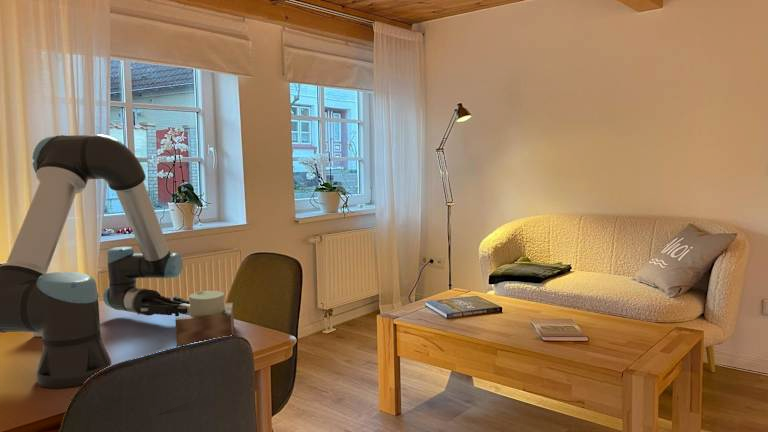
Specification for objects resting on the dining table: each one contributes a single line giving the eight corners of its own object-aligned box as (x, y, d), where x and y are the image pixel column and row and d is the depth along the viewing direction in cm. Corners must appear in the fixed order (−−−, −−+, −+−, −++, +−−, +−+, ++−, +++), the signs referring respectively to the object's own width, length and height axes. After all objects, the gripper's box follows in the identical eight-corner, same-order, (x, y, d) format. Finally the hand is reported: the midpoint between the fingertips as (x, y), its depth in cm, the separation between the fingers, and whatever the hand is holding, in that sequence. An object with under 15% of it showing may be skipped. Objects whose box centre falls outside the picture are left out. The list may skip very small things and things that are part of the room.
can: (210, 328, 169) (209, 287, 168) (232, 334, 164) (231, 291, 162) (183, 336, 162) (181, 293, 160) (205, 343, 157) (203, 299, 155)
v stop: (173, 345, 156) (171, 319, 155) (230, 325, 172) (229, 302, 172) (202, 351, 150) (200, 324, 149) (258, 331, 166) (257, 306, 165)
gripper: (162, 308, 183) (216, 318, 171) (125, 319, 172) (179, 330, 160) (161, 284, 182) (214, 292, 170) (123, 294, 171) (177, 303, 159)
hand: (197, 311), depth 165 cm, fingers closed
